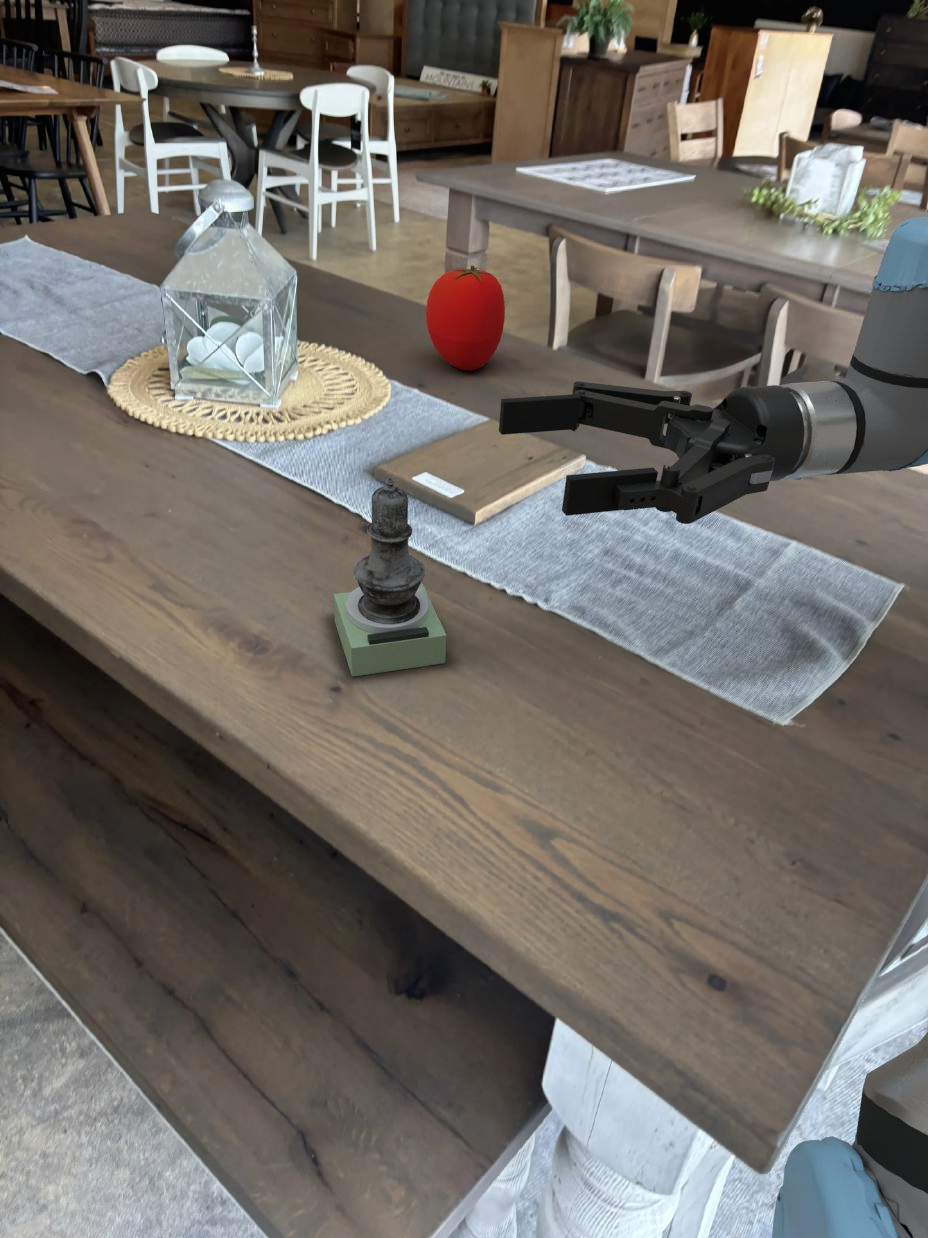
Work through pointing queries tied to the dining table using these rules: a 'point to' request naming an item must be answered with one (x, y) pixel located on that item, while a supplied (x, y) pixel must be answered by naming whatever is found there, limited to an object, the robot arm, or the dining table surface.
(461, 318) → the tomato
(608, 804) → the dining table surface
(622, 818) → the dining table surface
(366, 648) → the scale
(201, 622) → the dining table surface
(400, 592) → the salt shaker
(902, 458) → the robot arm
